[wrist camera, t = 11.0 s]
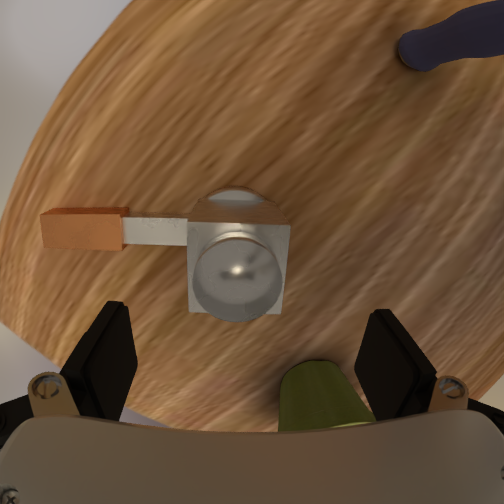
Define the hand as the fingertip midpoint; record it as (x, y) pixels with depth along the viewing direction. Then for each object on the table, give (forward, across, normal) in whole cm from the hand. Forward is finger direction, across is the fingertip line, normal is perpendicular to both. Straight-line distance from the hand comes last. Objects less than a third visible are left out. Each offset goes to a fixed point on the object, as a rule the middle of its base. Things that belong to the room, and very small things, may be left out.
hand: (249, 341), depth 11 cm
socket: (+13, +1, 0) cm, 13 cm away
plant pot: (+16, -8, +18) cm, 25 cm away
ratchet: (+15, +7, 0) cm, 17 cm away
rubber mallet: (+16, -14, -18) cm, 28 cm away
